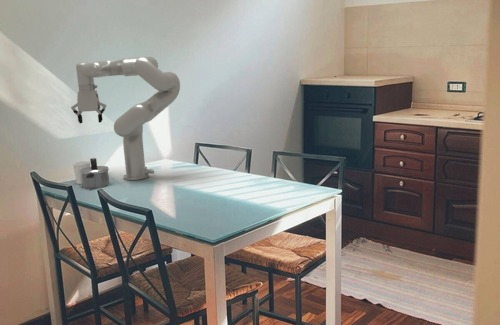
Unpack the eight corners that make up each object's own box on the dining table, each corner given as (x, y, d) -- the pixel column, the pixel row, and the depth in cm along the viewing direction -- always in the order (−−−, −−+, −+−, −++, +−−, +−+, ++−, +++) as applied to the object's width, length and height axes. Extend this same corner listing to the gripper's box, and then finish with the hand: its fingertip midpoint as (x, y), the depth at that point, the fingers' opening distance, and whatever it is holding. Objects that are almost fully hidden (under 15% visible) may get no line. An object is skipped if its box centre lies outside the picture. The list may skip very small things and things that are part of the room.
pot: (113, 180, 267) (111, 166, 265) (103, 189, 250) (101, 174, 248) (88, 181, 267) (87, 167, 265) (77, 190, 250) (76, 176, 248)
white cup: (87, 184, 261) (84, 164, 259) (72, 184, 262) (70, 164, 260) (95, 180, 268) (92, 161, 266) (80, 180, 270) (78, 161, 268)
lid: (111, 170, 263) (110, 155, 262) (104, 176, 251) (103, 160, 249) (85, 171, 264) (83, 156, 262) (77, 178, 251) (75, 162, 249)
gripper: (106, 86, 268) (109, 120, 272) (71, 88, 268) (75, 122, 272) (102, 87, 261) (105, 122, 264) (66, 89, 261) (70, 124, 264)
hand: (90, 122), depth 268 cm, fingers open, 9 cm apart
